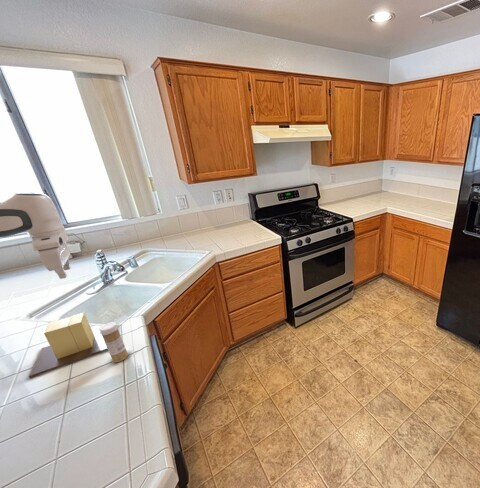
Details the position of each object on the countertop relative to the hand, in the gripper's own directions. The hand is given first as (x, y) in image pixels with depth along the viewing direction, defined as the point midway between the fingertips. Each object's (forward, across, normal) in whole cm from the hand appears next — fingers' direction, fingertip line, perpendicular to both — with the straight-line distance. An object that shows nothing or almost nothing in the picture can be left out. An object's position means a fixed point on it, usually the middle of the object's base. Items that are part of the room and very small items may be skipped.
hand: (65, 273), depth 97 cm
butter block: (+25, +11, -5) cm, 28 cm away
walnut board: (+26, +11, -3) cm, 28 cm away
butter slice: (+25, +11, 0) cm, 27 cm away
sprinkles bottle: (+26, +27, +10) cm, 39 cm away
